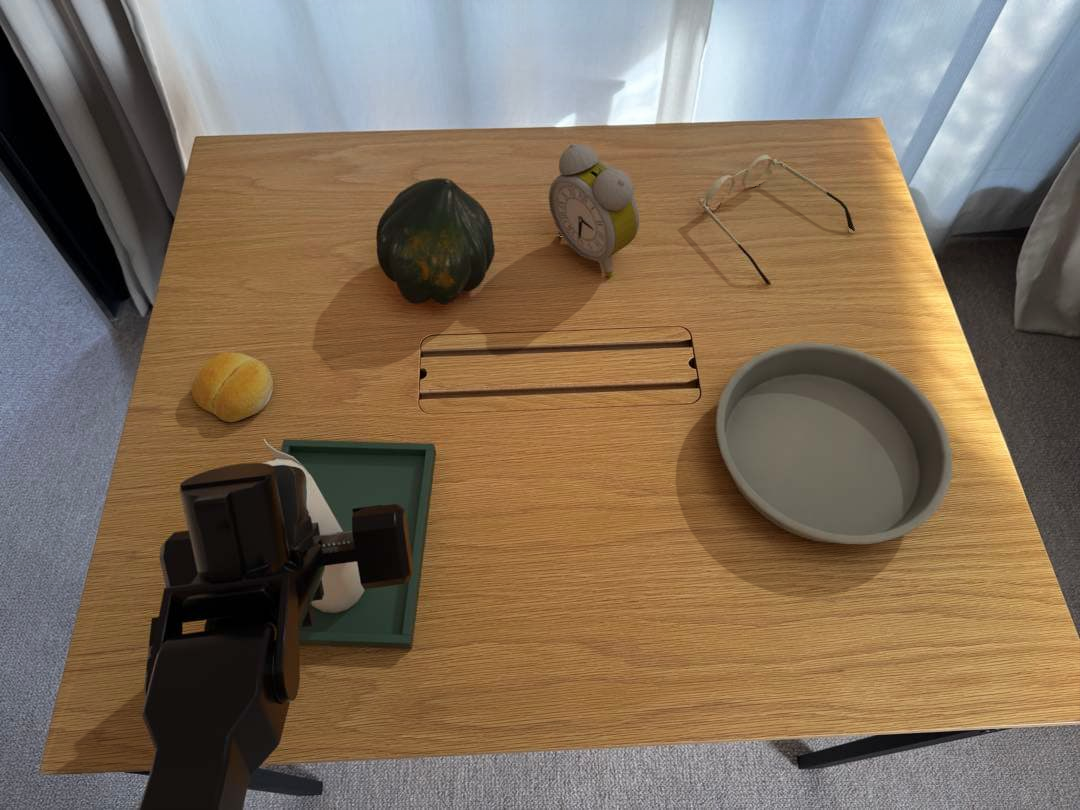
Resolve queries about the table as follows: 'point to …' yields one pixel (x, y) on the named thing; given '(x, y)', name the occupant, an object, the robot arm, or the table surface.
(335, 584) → the paper towel roll
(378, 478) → the tray
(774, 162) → the wire-rimmed eyeglasses
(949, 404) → the table surface
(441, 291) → the squash
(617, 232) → the alarm clock
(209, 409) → the bread roll
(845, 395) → the cake pan
